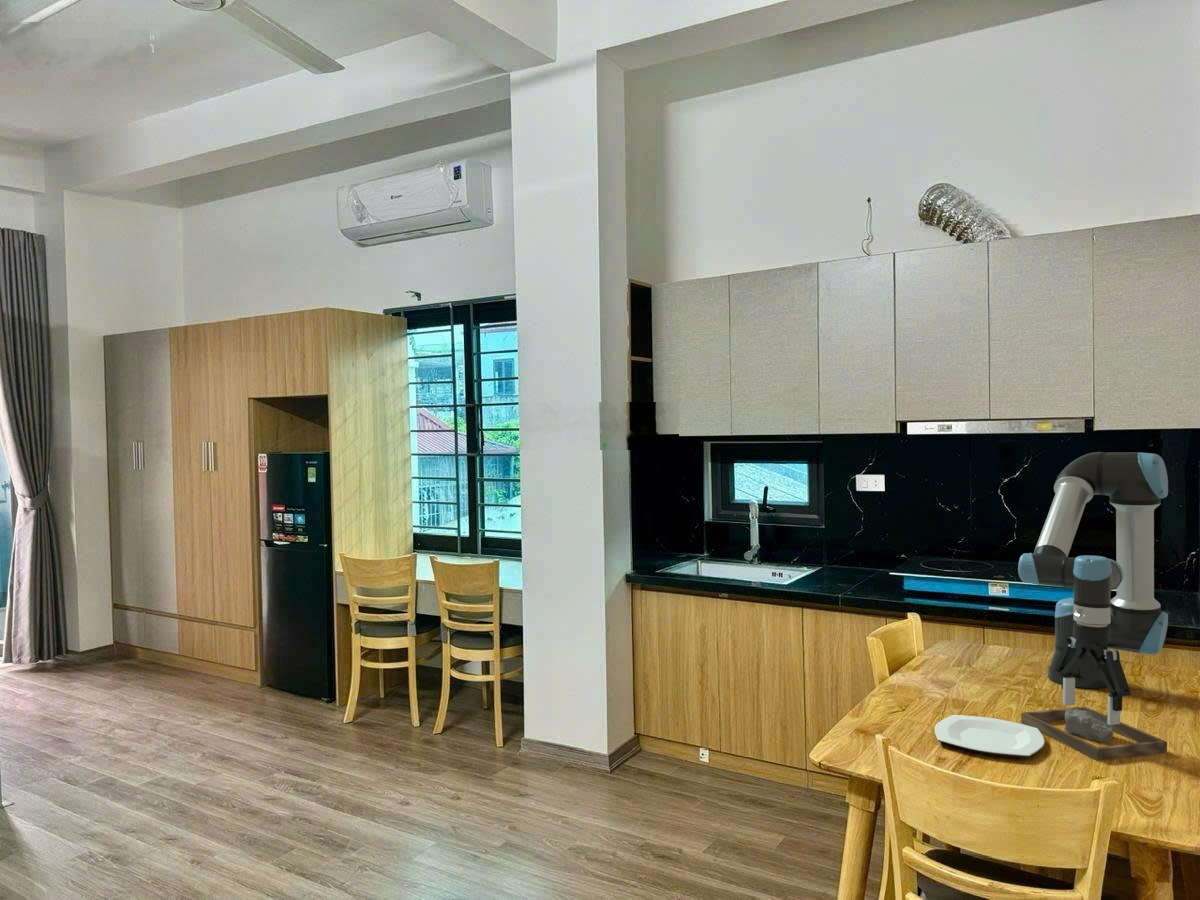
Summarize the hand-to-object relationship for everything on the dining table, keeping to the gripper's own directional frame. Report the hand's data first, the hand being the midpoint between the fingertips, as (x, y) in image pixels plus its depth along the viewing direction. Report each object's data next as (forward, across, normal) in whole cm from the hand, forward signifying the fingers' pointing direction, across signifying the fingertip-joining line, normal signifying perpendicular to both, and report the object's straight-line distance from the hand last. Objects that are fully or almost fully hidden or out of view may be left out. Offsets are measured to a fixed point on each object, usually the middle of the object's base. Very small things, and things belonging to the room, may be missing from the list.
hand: (1090, 714), depth 200 cm
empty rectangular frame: (+6, 0, 0) cm, 6 cm away
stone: (+6, -1, 0) cm, 6 cm away
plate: (+6, -4, -24) cm, 25 cm away
